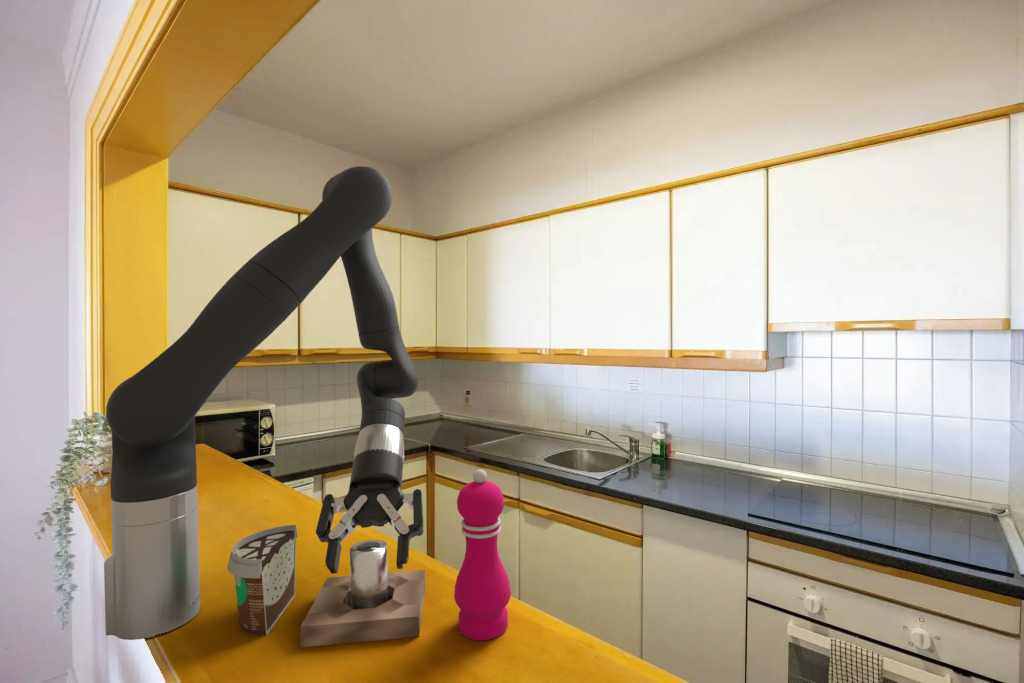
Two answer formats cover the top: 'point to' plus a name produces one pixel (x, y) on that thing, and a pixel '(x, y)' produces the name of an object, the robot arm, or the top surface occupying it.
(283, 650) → the top surface
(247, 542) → the food container
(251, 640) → the top surface
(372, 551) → the bushing
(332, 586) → the frame
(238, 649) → the top surface
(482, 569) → the pepper mill
